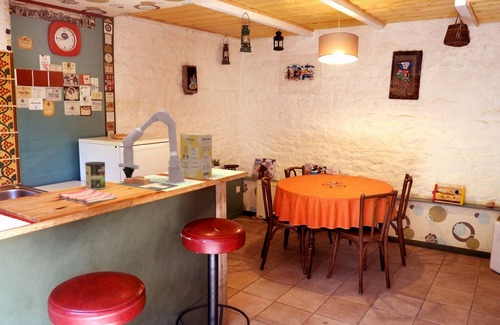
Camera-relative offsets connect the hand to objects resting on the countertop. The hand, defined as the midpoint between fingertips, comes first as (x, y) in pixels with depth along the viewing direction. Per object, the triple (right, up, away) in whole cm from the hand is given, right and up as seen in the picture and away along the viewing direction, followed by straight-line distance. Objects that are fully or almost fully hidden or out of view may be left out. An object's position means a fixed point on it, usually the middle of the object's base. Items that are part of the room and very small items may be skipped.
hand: (128, 179), depth 246 cm
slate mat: (+13, -3, -7) cm, 14 cm away
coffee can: (-13, -4, -18) cm, 22 cm away
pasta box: (+37, +1, +25) cm, 44 cm away
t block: (+7, -2, -4) cm, 8 cm away
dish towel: (-8, -8, -42) cm, 44 cm away
